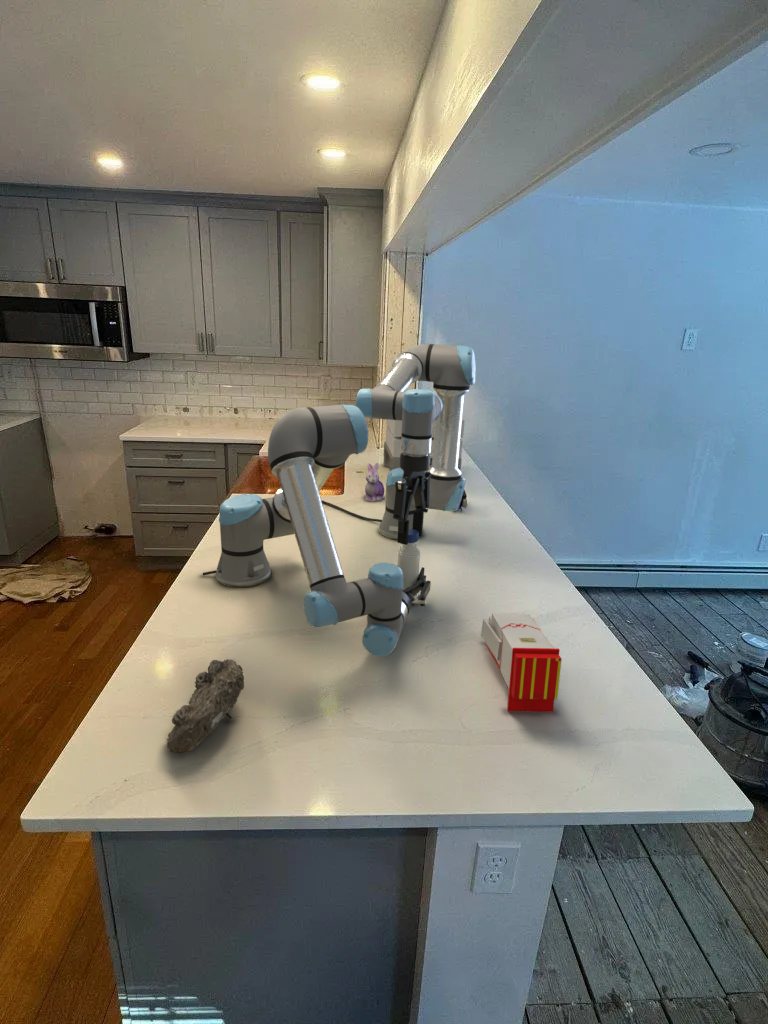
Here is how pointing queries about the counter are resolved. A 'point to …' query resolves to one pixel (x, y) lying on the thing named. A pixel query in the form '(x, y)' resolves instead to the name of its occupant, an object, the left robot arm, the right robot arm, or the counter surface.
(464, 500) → the figurine character
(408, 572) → the bottle
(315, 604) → the left robot arm
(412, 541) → the cap
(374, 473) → the figurine
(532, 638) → the toy
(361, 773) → the counter surface
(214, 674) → the fossil
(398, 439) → the grey slatted crate
